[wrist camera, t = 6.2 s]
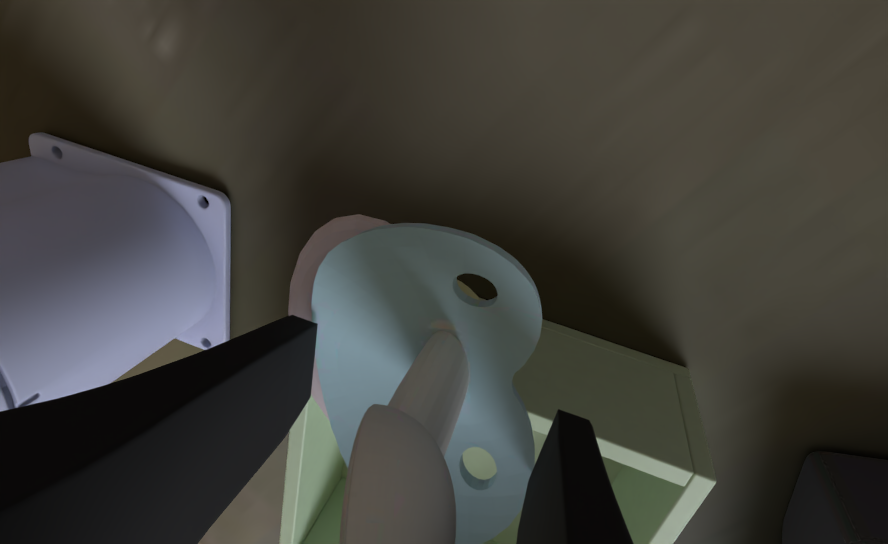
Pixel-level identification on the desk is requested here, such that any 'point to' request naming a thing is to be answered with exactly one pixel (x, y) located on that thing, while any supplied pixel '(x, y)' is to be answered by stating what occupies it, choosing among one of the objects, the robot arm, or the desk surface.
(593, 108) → the desk surface
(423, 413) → the pacifier
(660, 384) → the green storage bin
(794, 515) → the calculator
